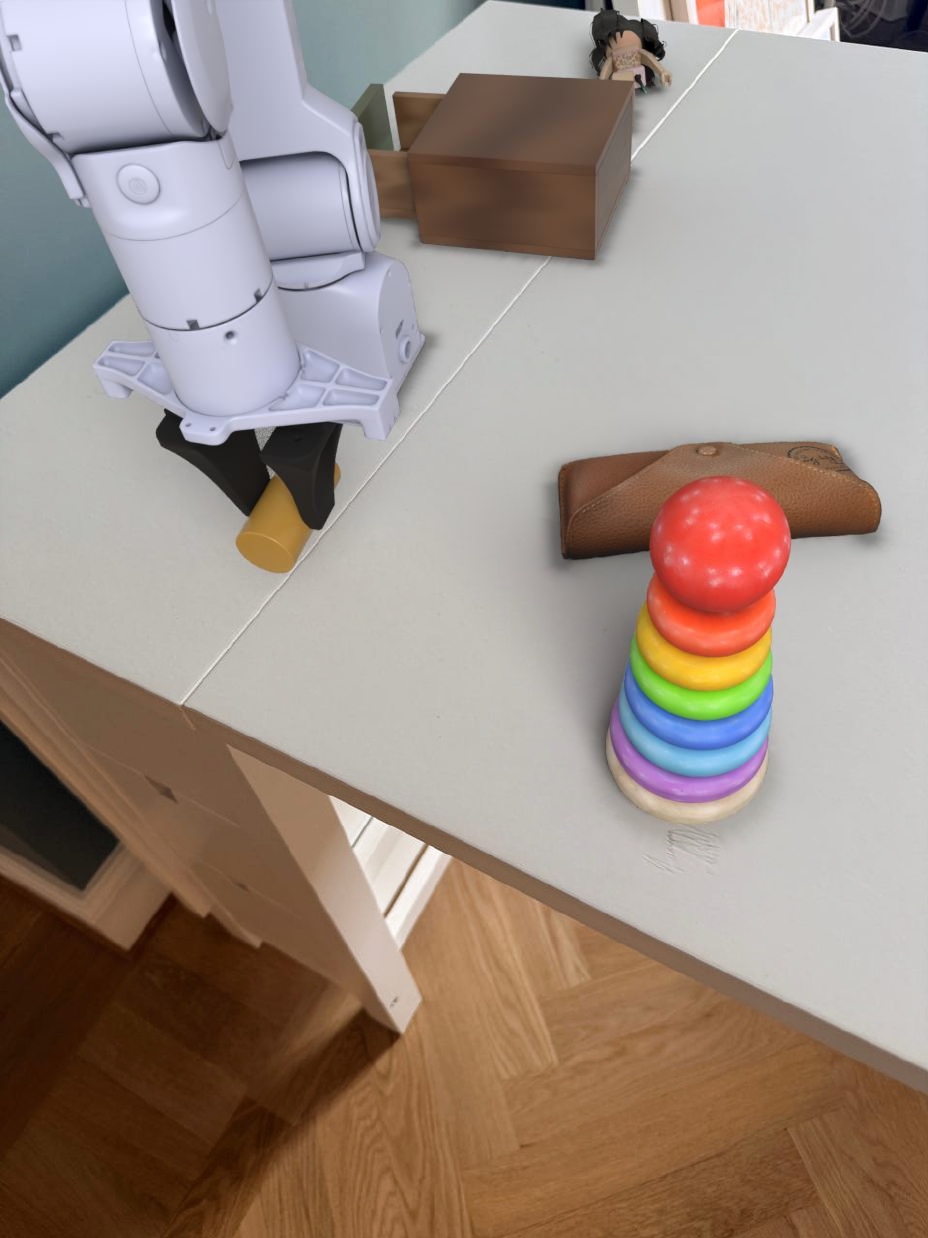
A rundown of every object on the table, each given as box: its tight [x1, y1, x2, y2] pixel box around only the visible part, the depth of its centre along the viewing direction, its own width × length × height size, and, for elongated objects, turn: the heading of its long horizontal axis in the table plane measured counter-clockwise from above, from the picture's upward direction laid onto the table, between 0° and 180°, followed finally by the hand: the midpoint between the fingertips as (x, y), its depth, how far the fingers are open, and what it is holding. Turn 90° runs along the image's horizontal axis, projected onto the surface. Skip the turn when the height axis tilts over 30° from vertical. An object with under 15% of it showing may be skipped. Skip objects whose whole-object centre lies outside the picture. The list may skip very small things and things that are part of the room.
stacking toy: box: [605, 476, 792, 825], centre depth 40 cm, size 8×8×19 cm
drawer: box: [349, 82, 446, 221], centre depth 78 cm, size 18×11×6 cm, turn 71°
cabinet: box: [407, 72, 635, 261], centre depth 75 cm, size 15×13×8 cm
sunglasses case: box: [557, 441, 883, 561], centre depth 55 cm, size 18×7×7 cm
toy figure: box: [588, 7, 673, 130], centre depth 85 cm, size 7×6×15 cm
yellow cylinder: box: [235, 461, 342, 574], centre depth 49 cm, size 3×6×3 cm, turn 162°
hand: (289, 509), depth 49 cm, fingers closed on yellow cylinder, 3 cm apart
